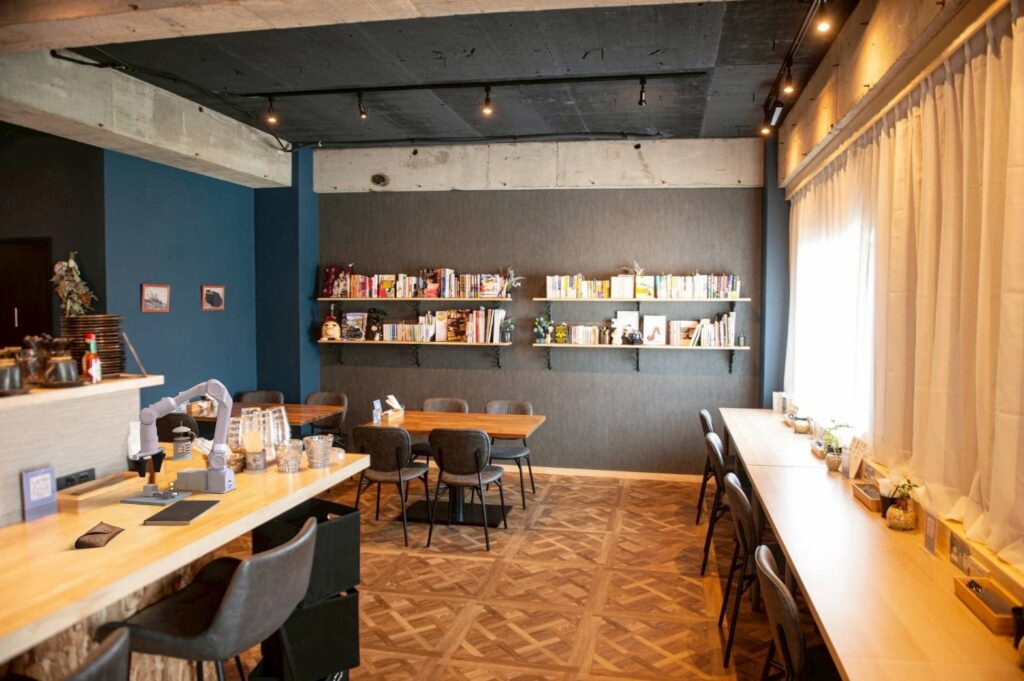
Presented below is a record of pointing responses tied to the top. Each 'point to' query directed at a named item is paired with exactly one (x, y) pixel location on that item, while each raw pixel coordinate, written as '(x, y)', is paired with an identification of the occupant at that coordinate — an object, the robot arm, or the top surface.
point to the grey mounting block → (168, 493)
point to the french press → (182, 444)
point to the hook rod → (154, 491)
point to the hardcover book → (182, 512)
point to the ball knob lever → (173, 484)
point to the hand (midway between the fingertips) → (149, 474)
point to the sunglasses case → (98, 536)
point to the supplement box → (193, 479)
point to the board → (154, 499)
